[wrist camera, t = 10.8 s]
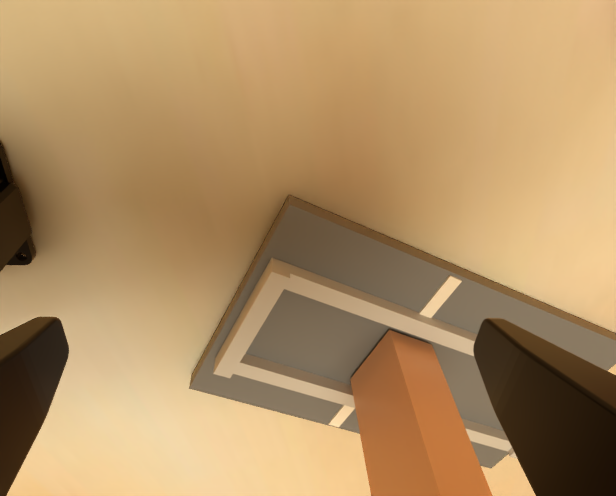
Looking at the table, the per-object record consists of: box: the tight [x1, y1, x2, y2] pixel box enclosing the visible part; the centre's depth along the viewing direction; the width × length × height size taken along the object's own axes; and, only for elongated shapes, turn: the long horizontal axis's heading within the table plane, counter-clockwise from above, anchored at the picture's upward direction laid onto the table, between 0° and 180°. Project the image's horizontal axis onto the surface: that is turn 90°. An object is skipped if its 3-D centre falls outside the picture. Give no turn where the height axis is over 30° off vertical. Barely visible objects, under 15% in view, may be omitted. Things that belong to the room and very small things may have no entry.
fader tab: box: [350, 330, 492, 496], centre depth 24 cm, size 3×5×11 cm
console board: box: [189, 195, 616, 468], centre depth 29 cm, size 24×14×2 cm, turn 63°
